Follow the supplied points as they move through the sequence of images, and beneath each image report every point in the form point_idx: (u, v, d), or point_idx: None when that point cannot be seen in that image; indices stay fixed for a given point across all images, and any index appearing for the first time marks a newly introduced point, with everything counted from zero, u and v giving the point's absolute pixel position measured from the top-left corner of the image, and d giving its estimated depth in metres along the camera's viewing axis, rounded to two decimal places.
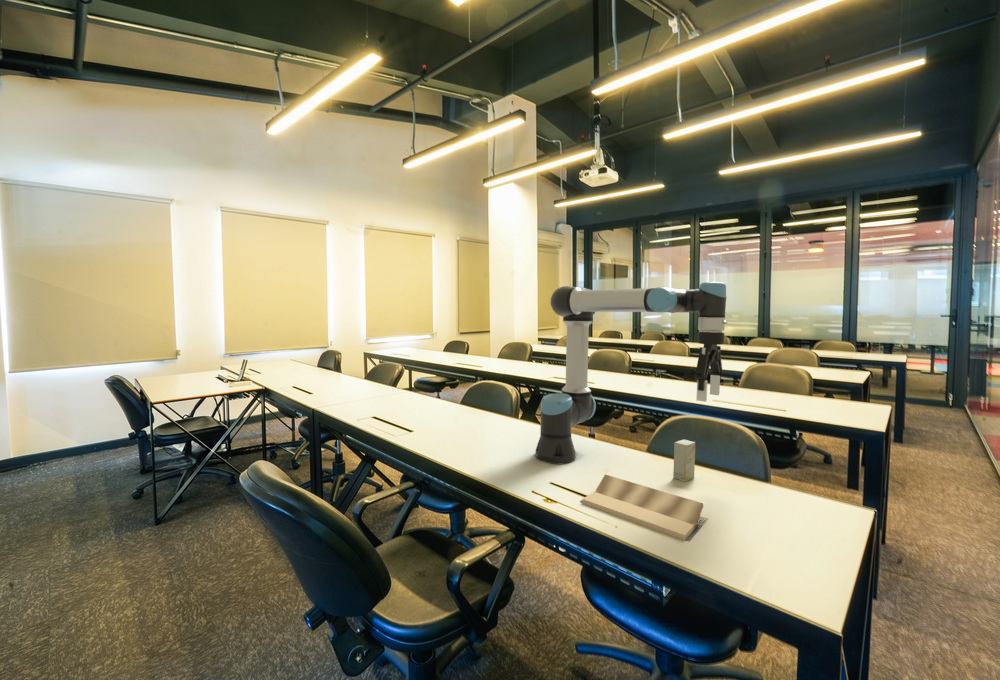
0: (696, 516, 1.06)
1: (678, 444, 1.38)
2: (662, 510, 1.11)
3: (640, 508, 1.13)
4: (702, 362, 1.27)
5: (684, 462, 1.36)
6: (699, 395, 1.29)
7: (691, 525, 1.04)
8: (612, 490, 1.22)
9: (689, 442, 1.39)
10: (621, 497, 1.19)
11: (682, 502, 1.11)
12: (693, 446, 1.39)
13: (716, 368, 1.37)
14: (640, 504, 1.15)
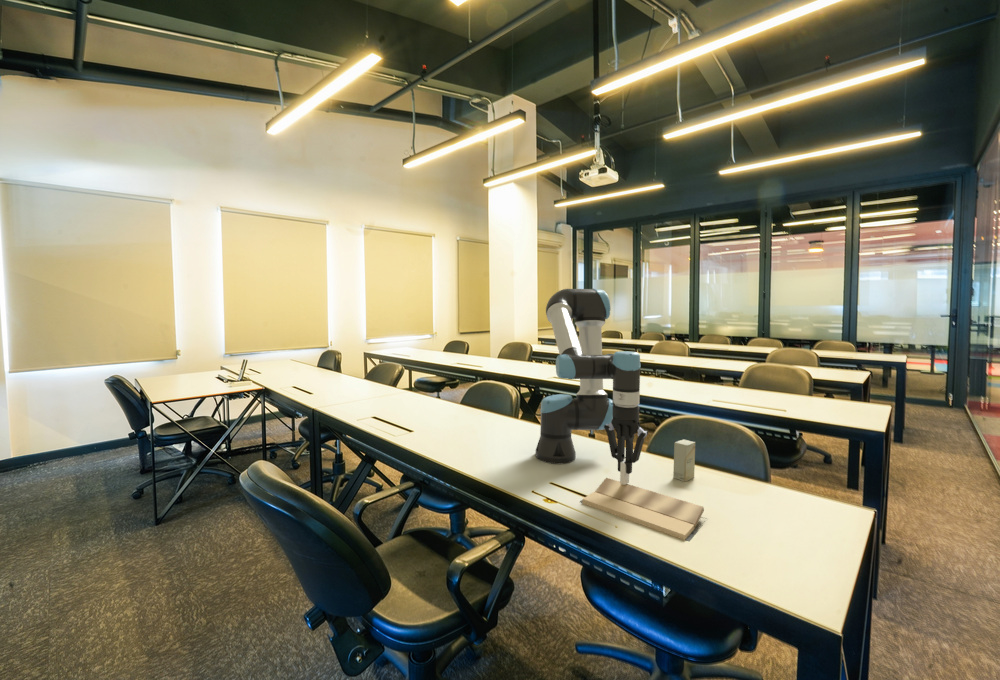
0: (697, 517, 1.07)
1: (678, 444, 1.38)
2: (662, 510, 1.11)
3: (640, 508, 1.13)
4: None
5: (684, 462, 1.36)
6: None
7: (691, 525, 1.04)
8: (613, 491, 1.22)
9: (689, 442, 1.39)
10: (621, 497, 1.19)
11: (683, 505, 1.11)
12: (693, 446, 1.39)
13: None
14: (640, 504, 1.15)
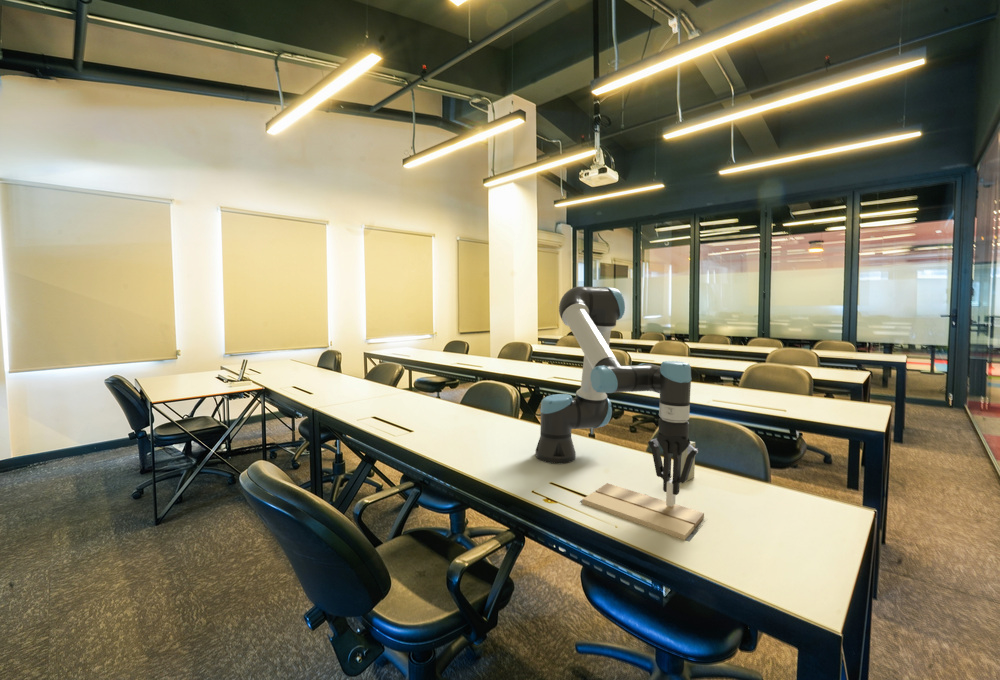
0: (697, 519, 1.07)
1: None
2: (663, 510, 1.11)
3: (640, 508, 1.13)
4: None
5: (684, 462, 1.36)
6: None
7: (691, 525, 1.04)
8: (614, 492, 1.22)
9: None
10: (622, 497, 1.19)
11: (683, 509, 1.12)
12: (693, 446, 1.39)
13: None
14: (641, 504, 1.15)
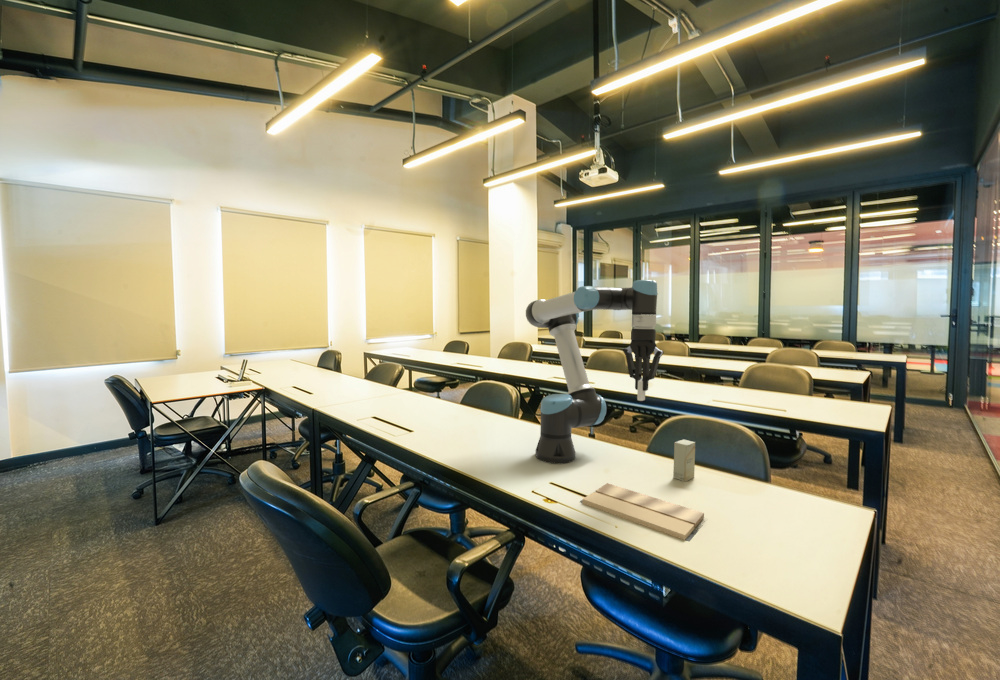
0: (697, 519, 1.07)
1: (678, 444, 1.38)
2: (663, 510, 1.11)
3: (640, 508, 1.13)
4: None
5: (684, 462, 1.36)
6: None
7: (691, 525, 1.04)
8: (614, 492, 1.22)
9: (689, 442, 1.39)
10: (622, 497, 1.19)
11: (683, 509, 1.12)
12: (693, 446, 1.39)
13: None
14: (641, 504, 1.15)
